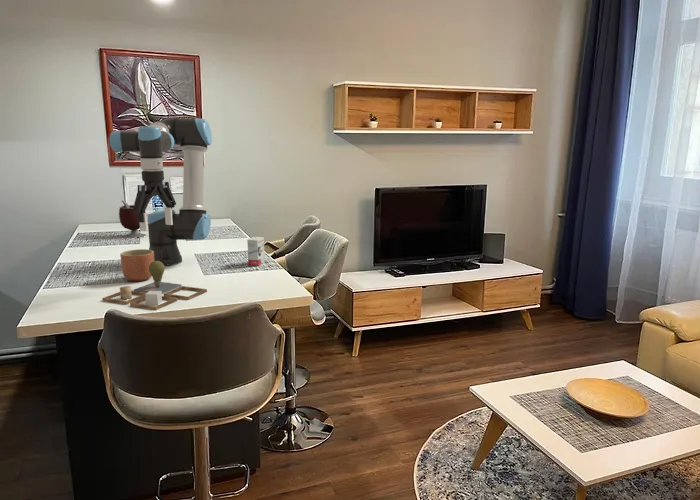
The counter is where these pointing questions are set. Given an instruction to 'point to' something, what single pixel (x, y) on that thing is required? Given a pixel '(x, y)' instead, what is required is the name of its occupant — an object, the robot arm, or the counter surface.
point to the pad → (163, 288)
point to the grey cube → (153, 297)
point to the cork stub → (125, 292)
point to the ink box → (256, 251)
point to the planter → (137, 264)
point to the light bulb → (157, 272)
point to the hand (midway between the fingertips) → (157, 227)
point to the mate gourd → (129, 220)
